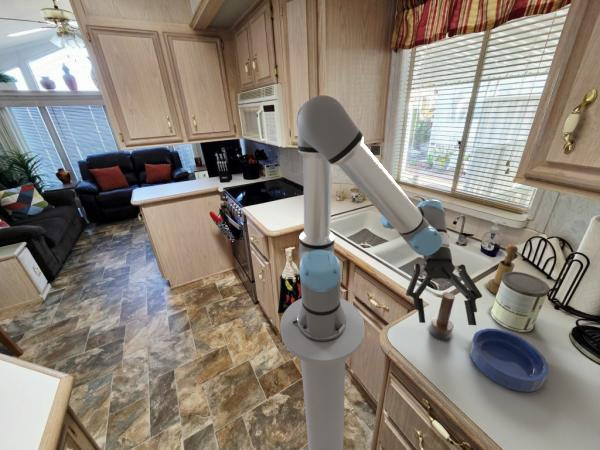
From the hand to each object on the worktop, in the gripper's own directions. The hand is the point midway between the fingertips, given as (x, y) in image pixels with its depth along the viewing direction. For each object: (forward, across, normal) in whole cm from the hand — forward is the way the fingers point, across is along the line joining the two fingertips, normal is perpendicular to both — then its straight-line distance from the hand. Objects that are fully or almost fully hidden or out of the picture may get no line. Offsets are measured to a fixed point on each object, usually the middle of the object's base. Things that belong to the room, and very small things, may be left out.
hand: (447, 324), depth 69 cm
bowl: (+9, +12, 0) cm, 15 cm away
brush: (+3, 0, +6) cm, 7 cm away
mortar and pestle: (-12, +27, +21) cm, 36 cm away
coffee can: (-2, +23, +11) cm, 26 cm away
